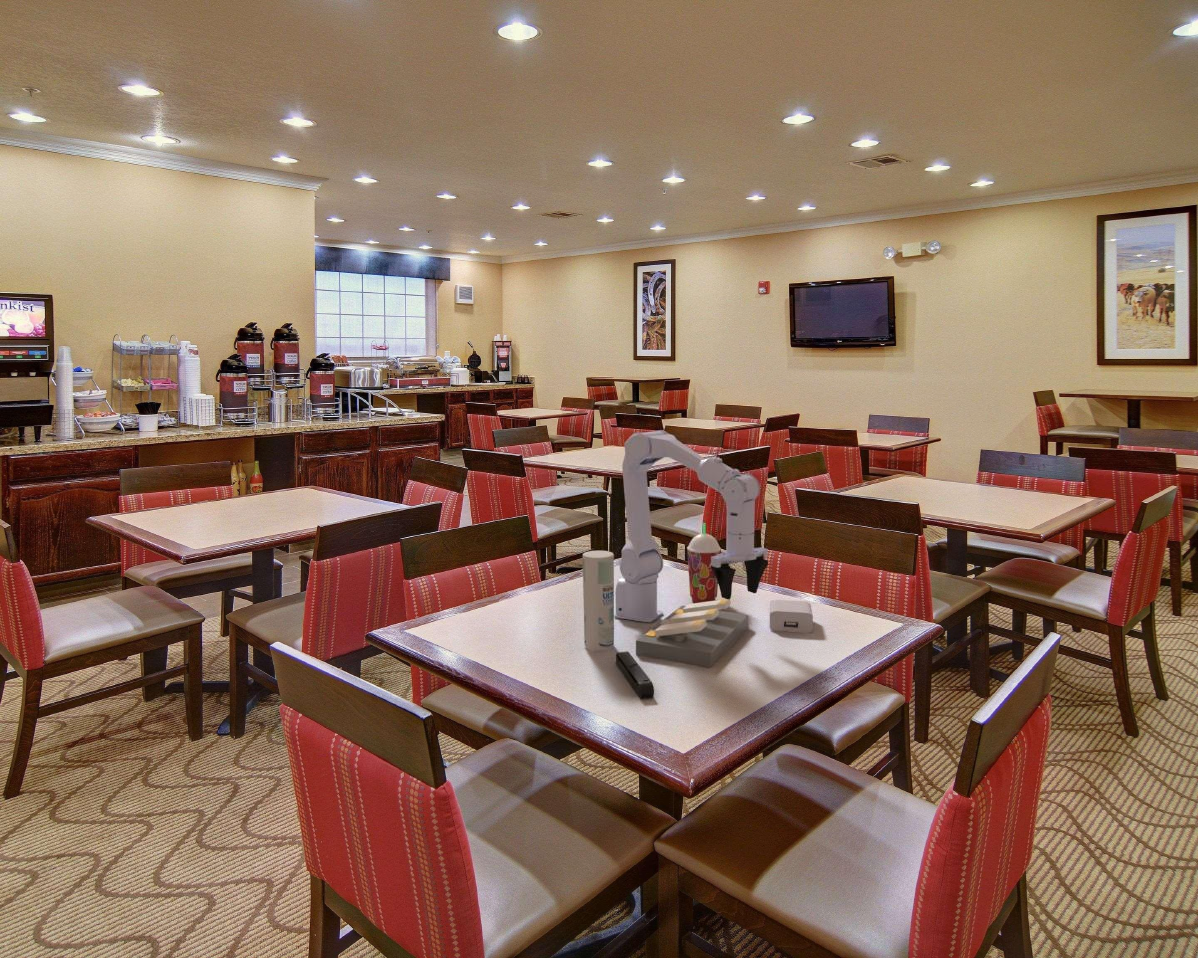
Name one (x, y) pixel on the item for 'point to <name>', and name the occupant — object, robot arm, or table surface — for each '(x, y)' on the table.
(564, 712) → the table surface
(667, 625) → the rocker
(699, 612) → the block
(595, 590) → the spray can
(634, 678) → the black long bar
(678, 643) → the switch panel
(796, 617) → the charger
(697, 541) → the smoothie
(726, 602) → the block
